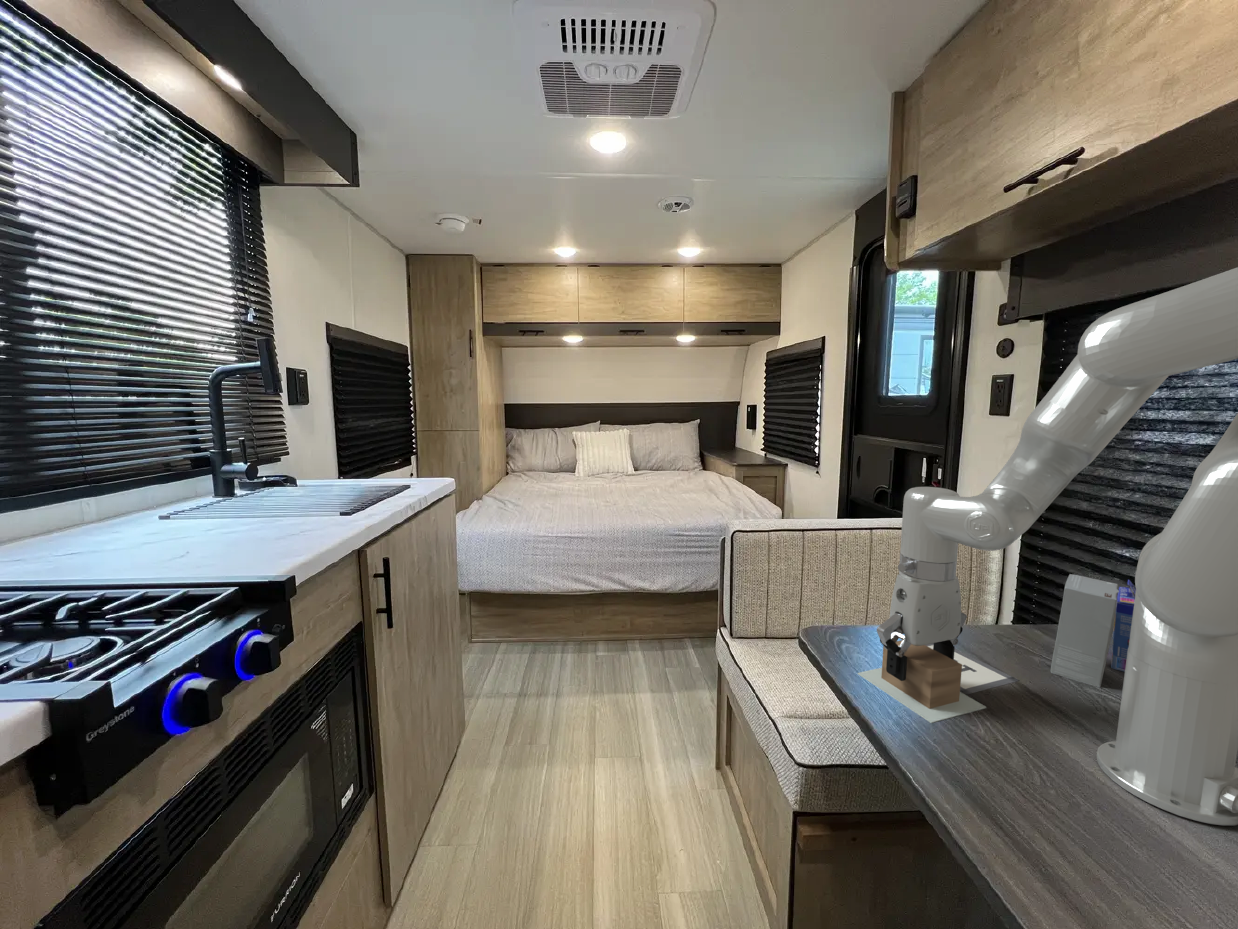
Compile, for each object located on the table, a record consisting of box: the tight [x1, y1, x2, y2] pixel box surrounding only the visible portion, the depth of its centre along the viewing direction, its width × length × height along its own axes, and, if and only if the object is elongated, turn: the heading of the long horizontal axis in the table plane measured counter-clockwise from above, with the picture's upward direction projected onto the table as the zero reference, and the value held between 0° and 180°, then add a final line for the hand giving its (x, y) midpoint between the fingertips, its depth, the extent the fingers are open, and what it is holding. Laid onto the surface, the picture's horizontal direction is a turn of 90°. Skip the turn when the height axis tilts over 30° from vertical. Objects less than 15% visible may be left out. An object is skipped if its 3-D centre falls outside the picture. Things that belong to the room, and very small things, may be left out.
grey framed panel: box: [926, 643, 1020, 696], centre depth 89 cm, size 15×12×1 cm
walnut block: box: [881, 639, 962, 709], centre depth 81 cm, size 9×6×6 cm, turn 18°
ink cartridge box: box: [1110, 579, 1136, 673], centre depth 88 cm, size 10×6×14 cm, turn 135°
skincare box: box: [1050, 573, 1119, 688], centre depth 85 cm, size 8×7×16 cm
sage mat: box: [857, 667, 987, 724], centre depth 82 cm, size 14×11×1 cm
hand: (919, 670), depth 81 cm, fingers open, 9 cm apart
